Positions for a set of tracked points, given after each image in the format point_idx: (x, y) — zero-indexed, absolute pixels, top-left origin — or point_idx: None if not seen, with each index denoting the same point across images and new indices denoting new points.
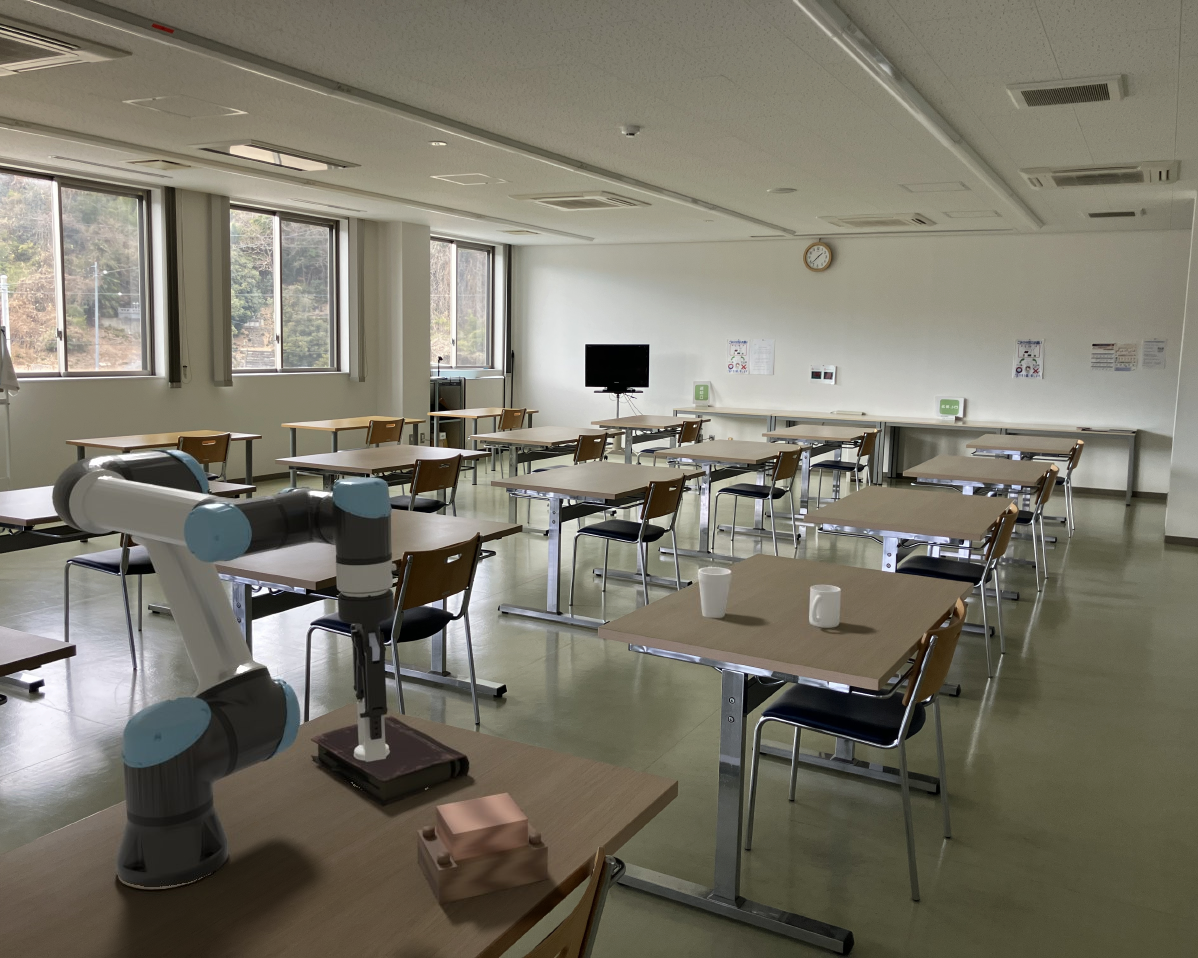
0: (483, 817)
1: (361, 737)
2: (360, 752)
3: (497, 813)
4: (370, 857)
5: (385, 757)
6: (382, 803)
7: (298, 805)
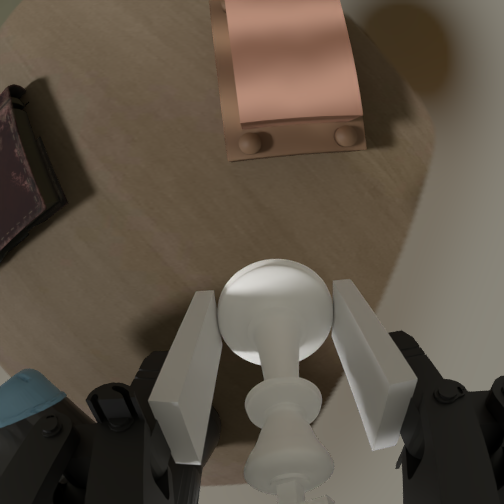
0: (314, 50)
1: (218, 356)
2: (303, 354)
3: (305, 26)
4: (200, 227)
5: (351, 281)
6: (62, 203)
7: (58, 306)
